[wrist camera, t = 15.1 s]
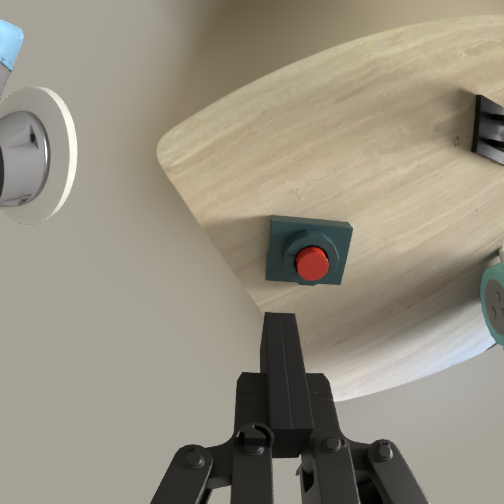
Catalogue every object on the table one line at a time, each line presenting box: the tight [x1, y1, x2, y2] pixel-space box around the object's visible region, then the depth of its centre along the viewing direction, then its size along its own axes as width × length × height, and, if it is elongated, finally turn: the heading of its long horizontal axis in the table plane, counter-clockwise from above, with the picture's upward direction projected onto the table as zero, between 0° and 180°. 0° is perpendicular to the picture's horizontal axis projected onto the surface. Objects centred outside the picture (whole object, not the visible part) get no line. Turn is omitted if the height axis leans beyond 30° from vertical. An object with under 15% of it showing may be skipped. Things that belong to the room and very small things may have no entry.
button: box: [296, 247, 328, 281], centre depth 33 cm, size 4×4×2 cm
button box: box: [265, 215, 353, 286], centre depth 35 cm, size 10×8×4 cm
